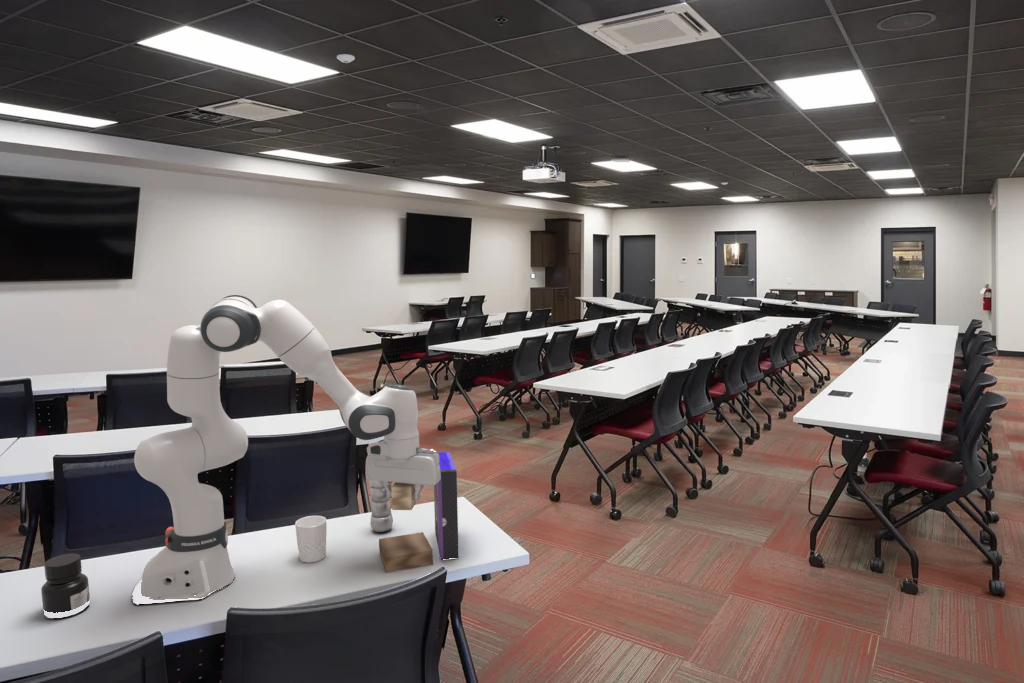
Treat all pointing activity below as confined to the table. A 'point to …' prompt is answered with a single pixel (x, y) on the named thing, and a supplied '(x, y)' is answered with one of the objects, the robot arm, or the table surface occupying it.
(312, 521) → the white cup
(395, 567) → the walnut base
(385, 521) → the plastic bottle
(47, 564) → the ink bottle
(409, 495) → the maple block
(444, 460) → the cereal box
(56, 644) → the table surface
